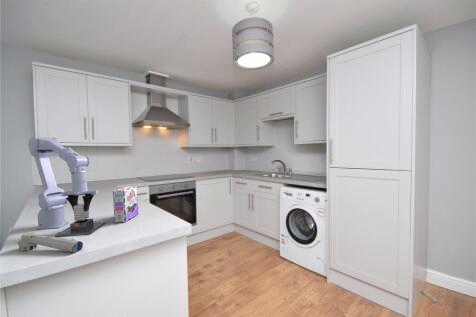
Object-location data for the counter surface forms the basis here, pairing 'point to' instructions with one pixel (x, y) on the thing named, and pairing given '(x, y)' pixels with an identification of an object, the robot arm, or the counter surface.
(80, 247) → the grey elongated piece
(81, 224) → the stand
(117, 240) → the counter surface
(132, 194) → the candy box
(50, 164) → the robot arm
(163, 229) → the counter surface
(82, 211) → the column
